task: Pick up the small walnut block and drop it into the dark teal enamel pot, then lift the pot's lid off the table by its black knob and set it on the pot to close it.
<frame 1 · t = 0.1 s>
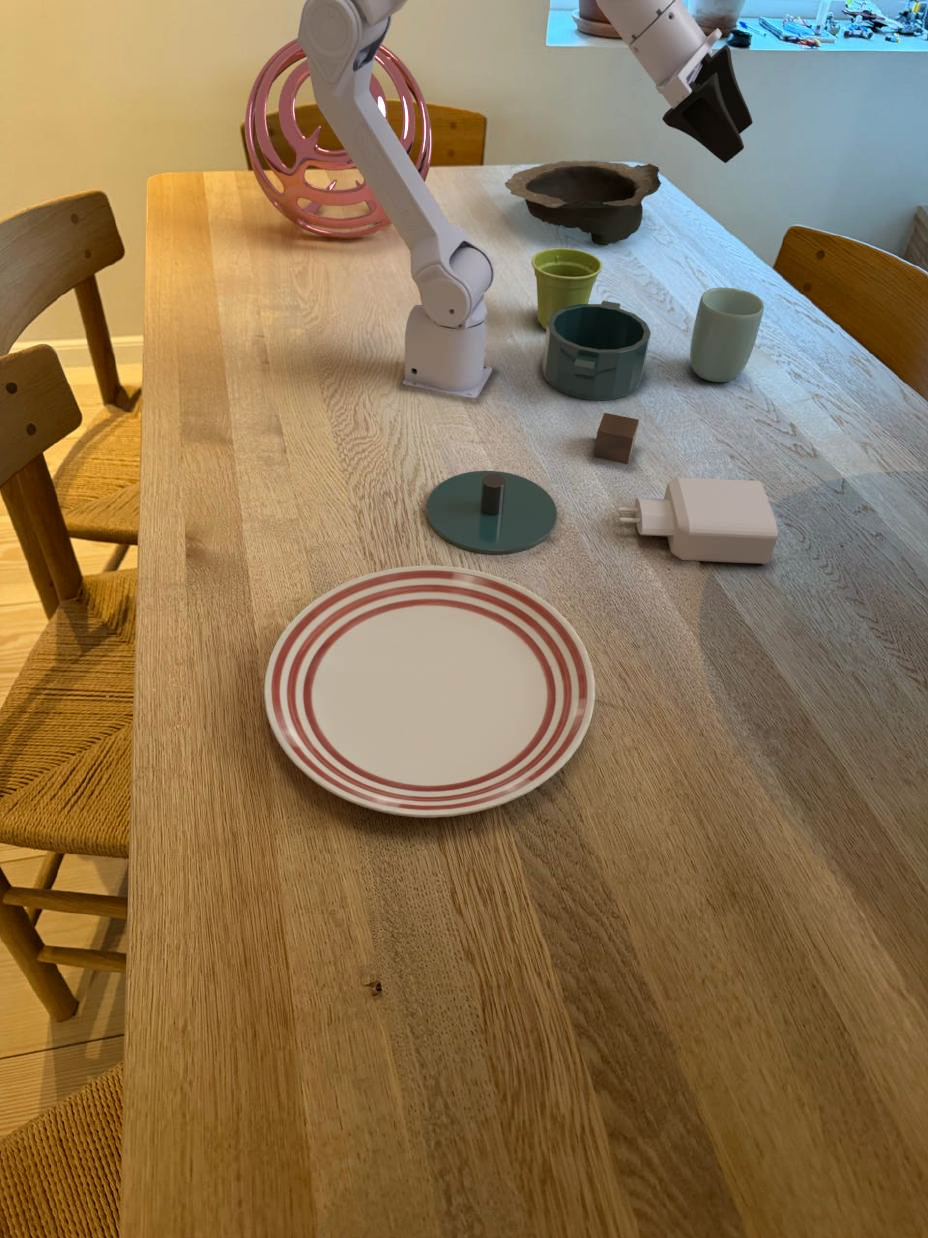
hand: (739, 142, 92), 32 cm above the table, tool tilted 50°, fingers open, 7 cm apart
pot: (591, 374, 122), on the table
lid: (491, 512, 100), point 1 cm above the table
pink openwork sphere: (340, 229, 152), on the table
stone bowl: (577, 225, 157), on the table
cup: (713, 375, 124), on the table
plant pot: (559, 324, 132), on the table
dinner plate: (430, 699, 82), on the table
charger: (685, 537, 99), on the table
block: (613, 454, 109), on the table
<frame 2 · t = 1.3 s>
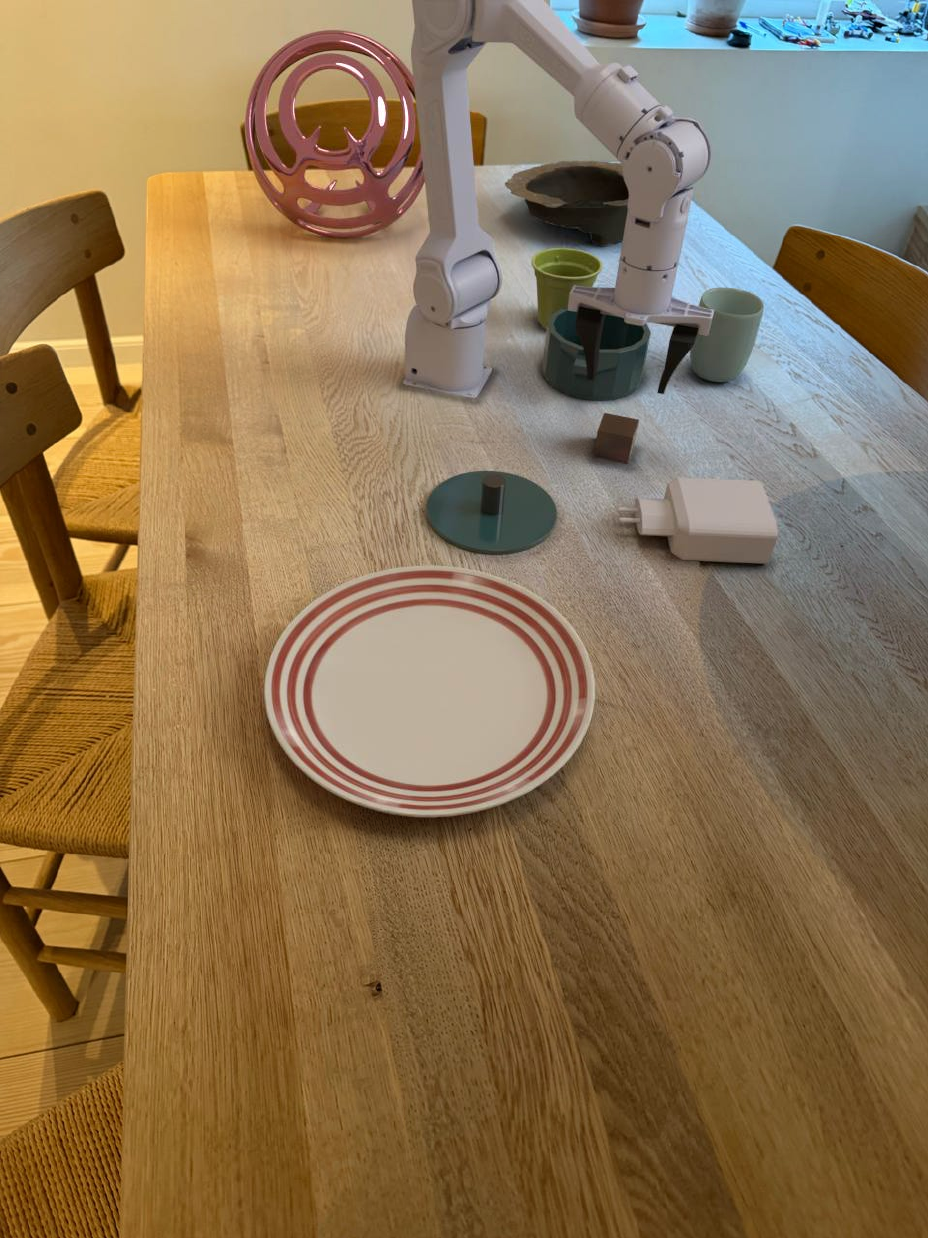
hand: (626, 382, 103), 9 cm above the table, tool pointing down, fingers open, 7 cm apart
nothing on the table moved.
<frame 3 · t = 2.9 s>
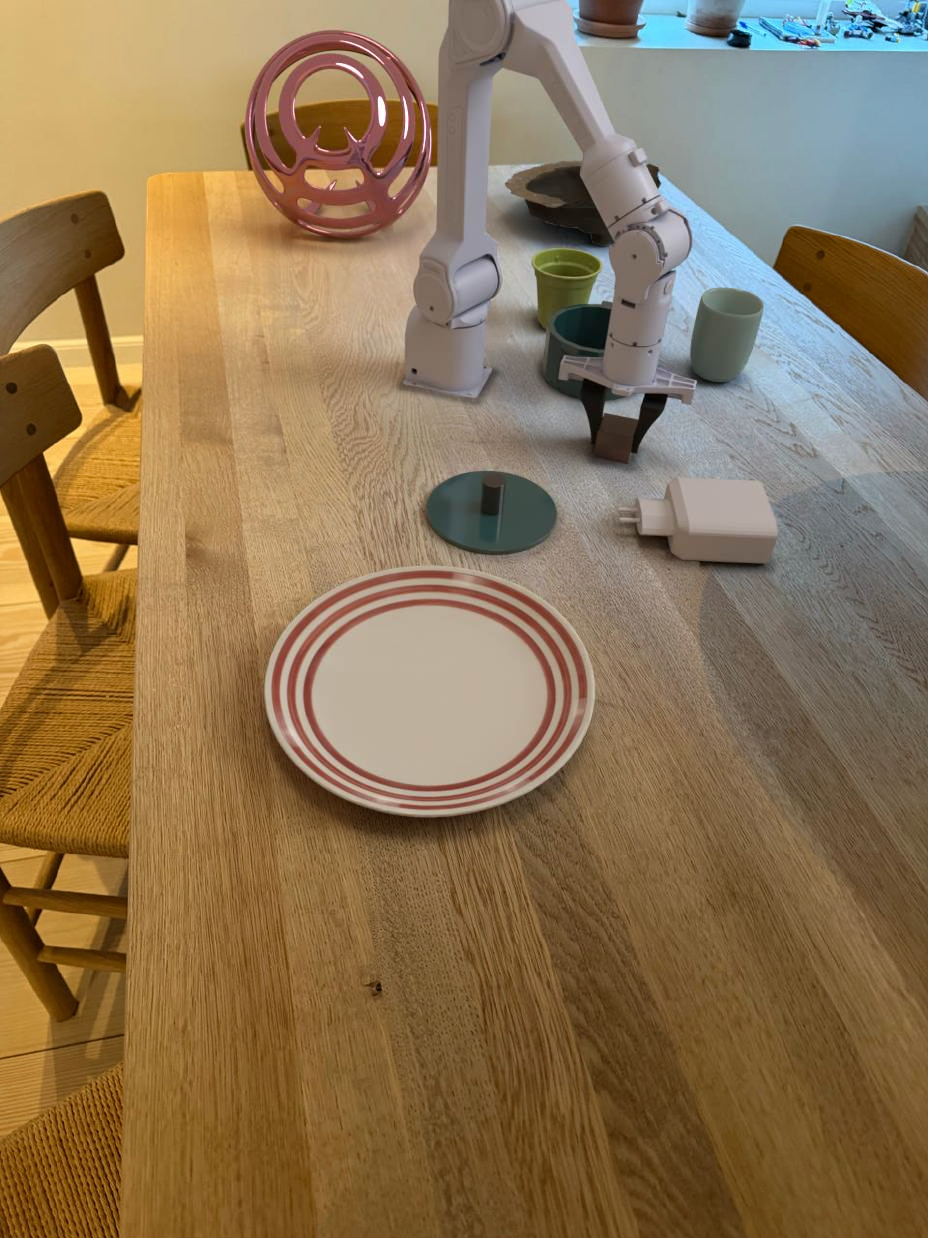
hand: (614, 444, 108), 1 cm above the table, tool pointing down, fingers closed on block, 4 cm apart
block: (613, 454, 109), on the table, touching gripper
everything else where it was.
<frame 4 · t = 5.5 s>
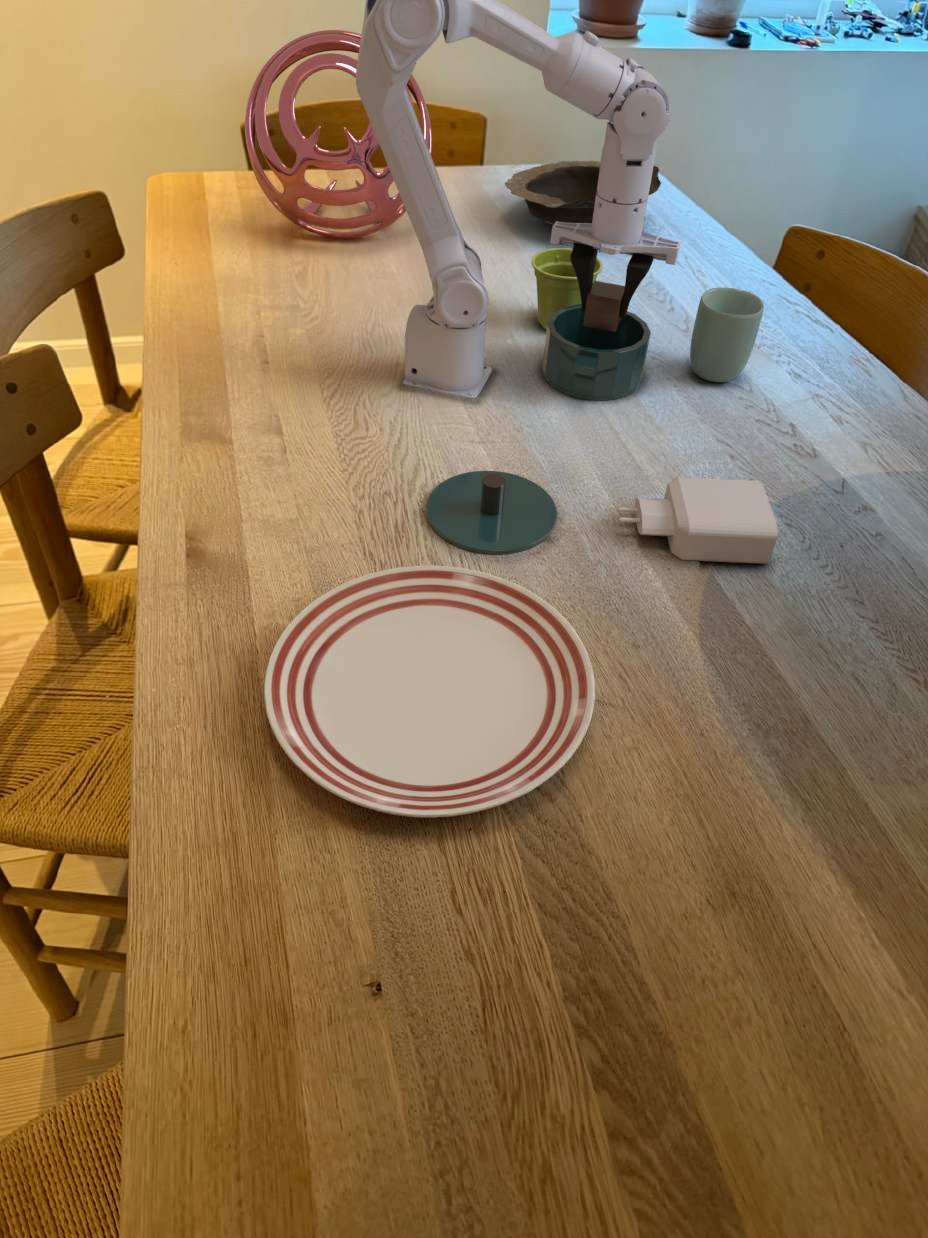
hand: (603, 310, 115), 9 cm above the table, tool pointing down, fingers closed on block, 4 cm apart
block: (602, 321, 116), point 8 cm above the table, touching gripper
everything else where it was.
when the fingers open (2 cm above the table, at t = 8.0 s): block stays where it is, resting on pot.
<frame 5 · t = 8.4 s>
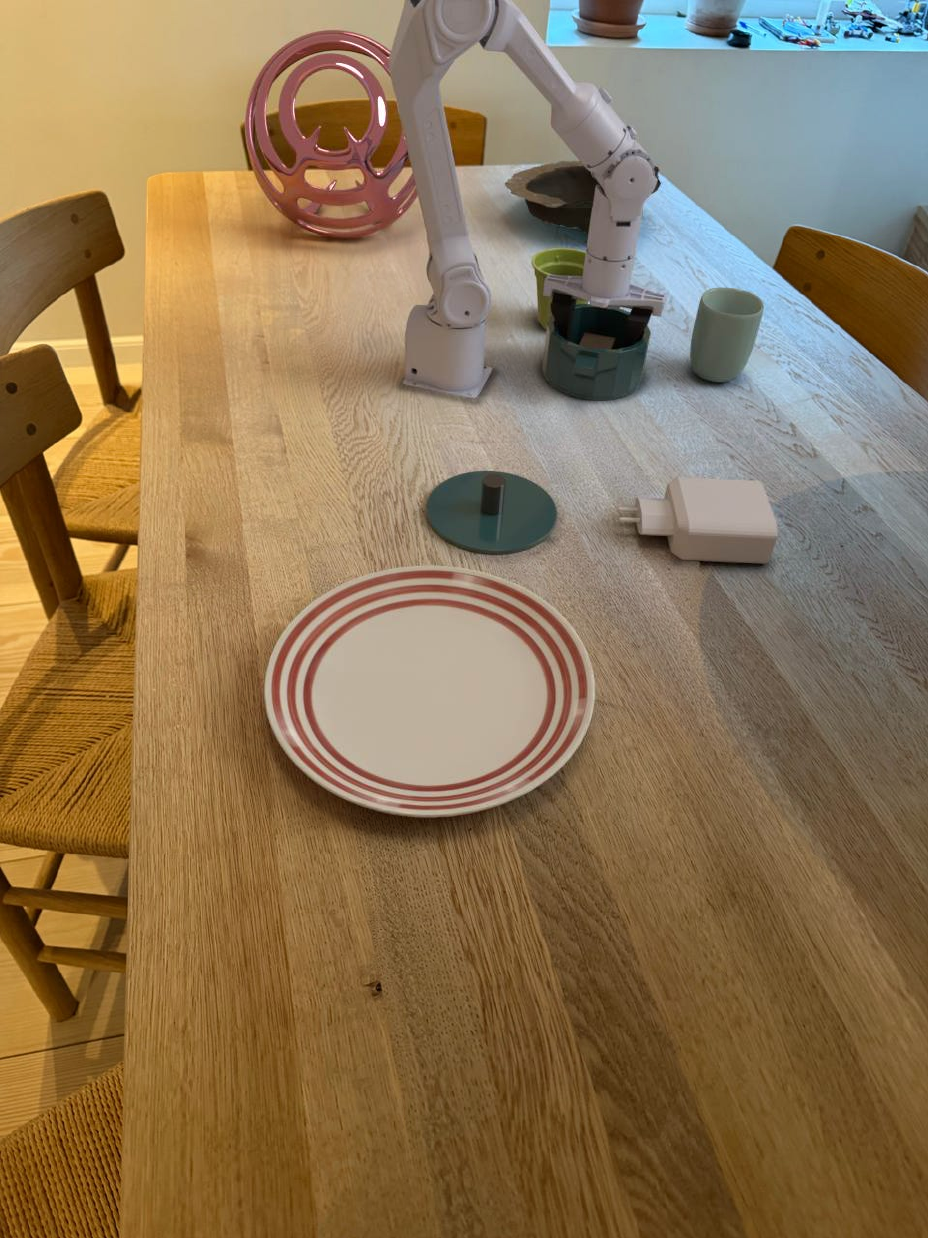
hand: (594, 357, 121), 2 cm above the table, tool pointing down, fingers open, 7 cm apart
block: (592, 370, 122), resting on pot
everything else where it was.
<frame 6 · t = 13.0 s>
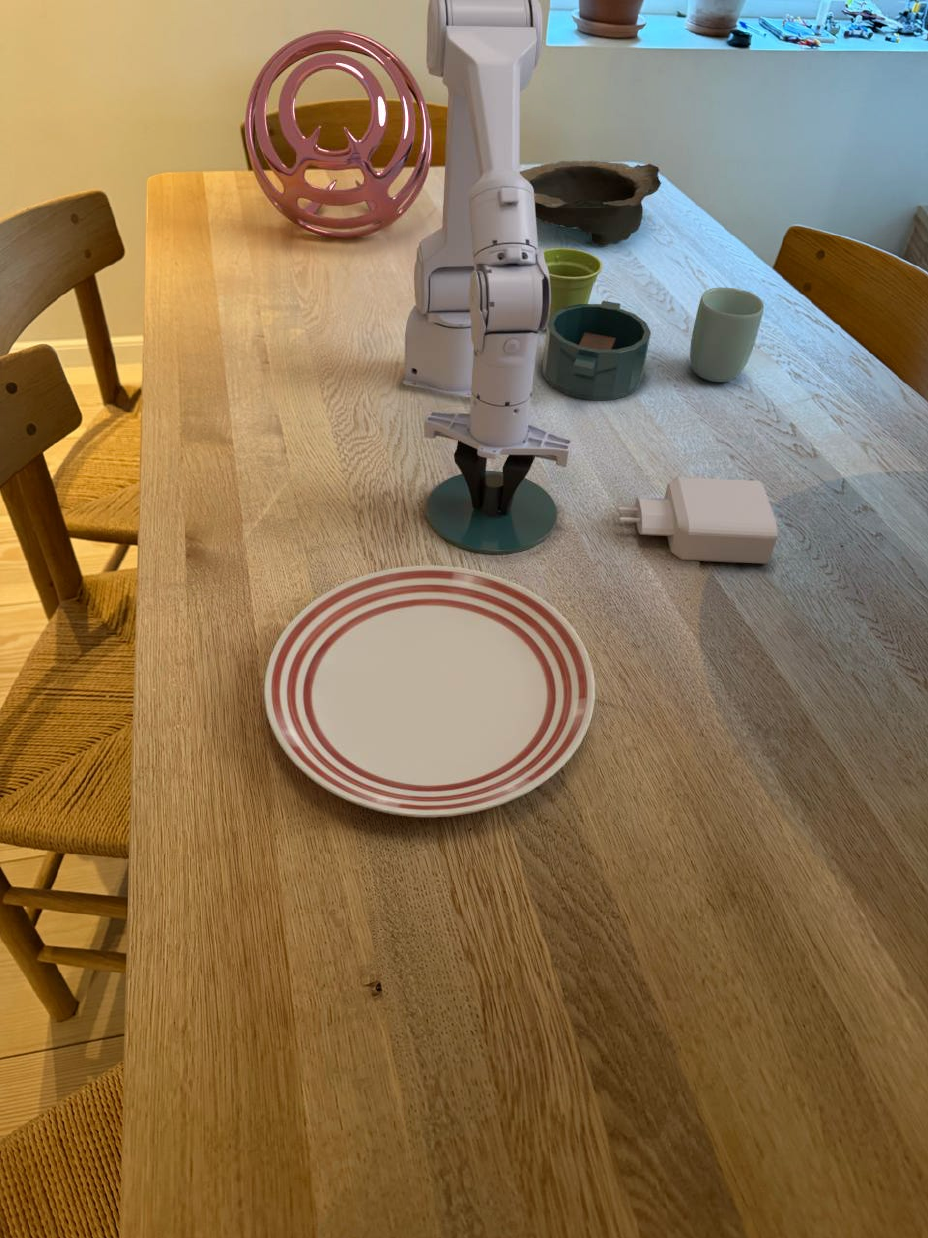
hand: (491, 506, 99), 1 cm above the table, tool pointing down, fingers closed on lid, 2 cm apart
lid: (491, 512, 100), point 1 cm above the table, touching gripper
everything else where it was.
when the fingers open (7 cm above the table, at t = 18.4 s): lid stays where it is, resting on pot.
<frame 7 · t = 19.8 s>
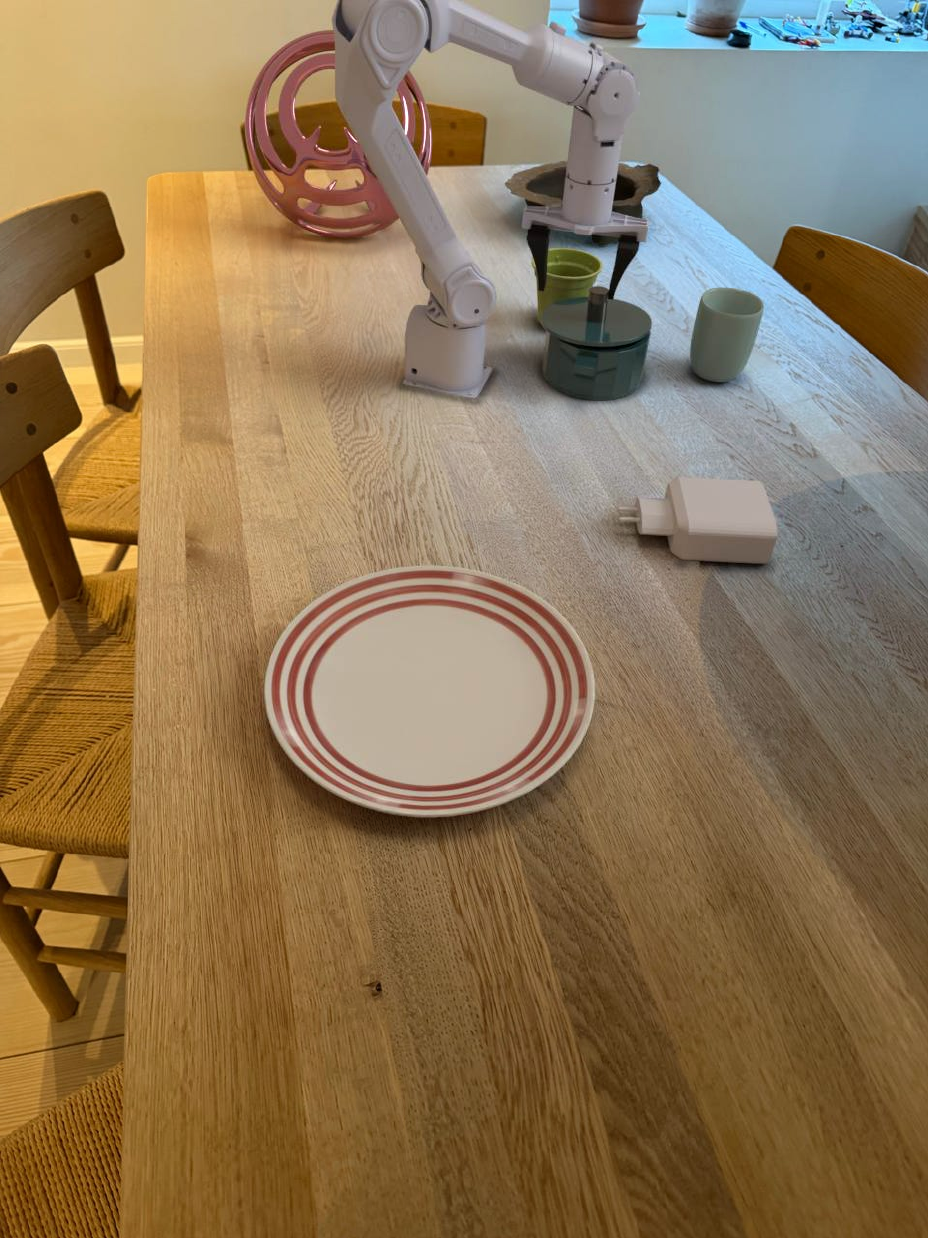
hand: (576, 291, 117), 10 cm above the table, tool pointing down, fingers open, 7 cm apart
lid: (595, 322, 118), point 7 cm above the table, touching gripper, pot
everything else where it was.
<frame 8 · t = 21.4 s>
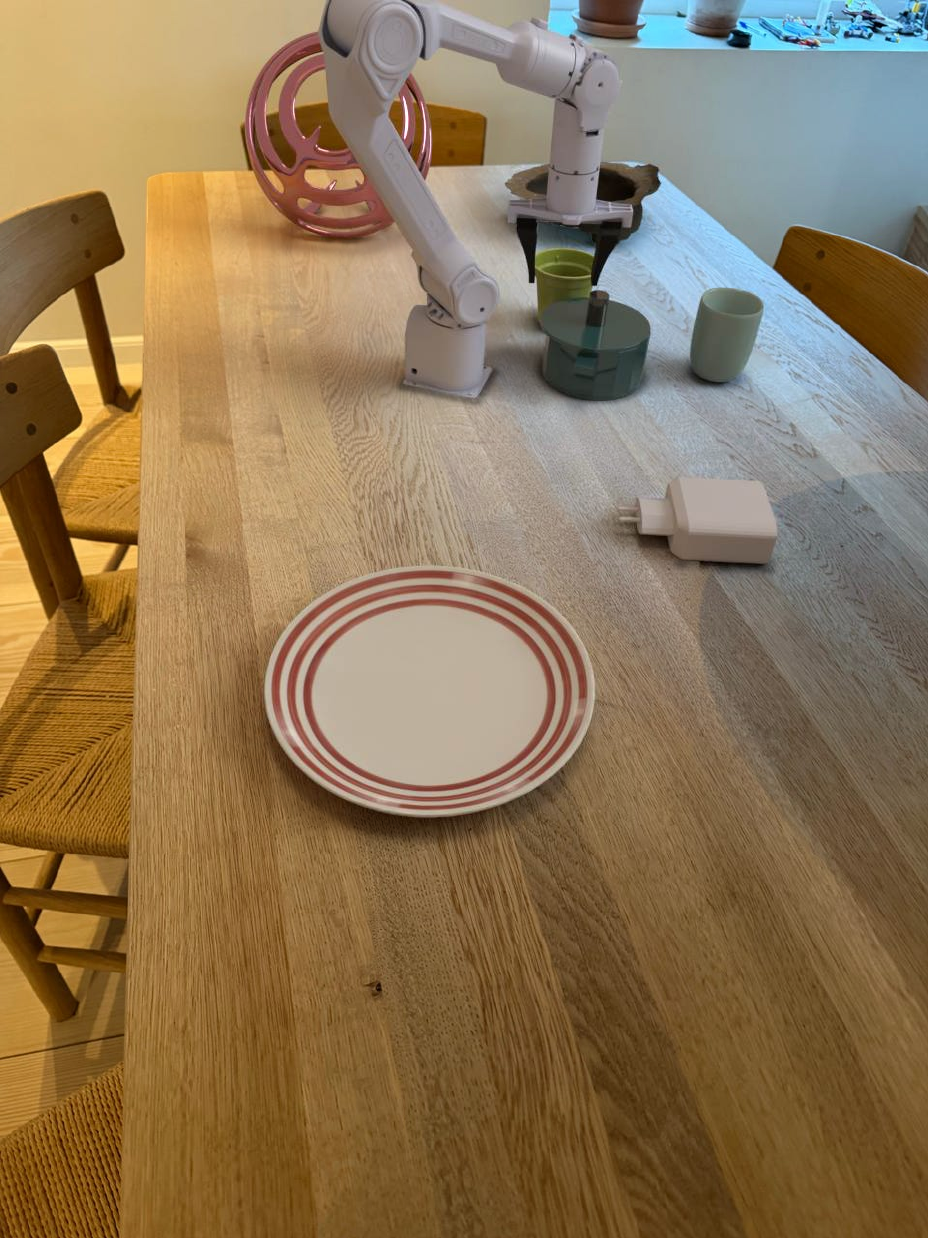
hand: (562, 280, 118), 10 cm above the table, tool pointing down, fingers open, 7 cm apart
lid: (594, 325, 118), point 6 cm above the table, touching pot
everything else where it was.
at the end: block inside the target area in the pot (0.1 cm from its centre), point 0.5 cm above the pot's base; lid 0.5 cm off-centre on the pot, point 6.5 cm above the pot's base; lid tilted 0° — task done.
